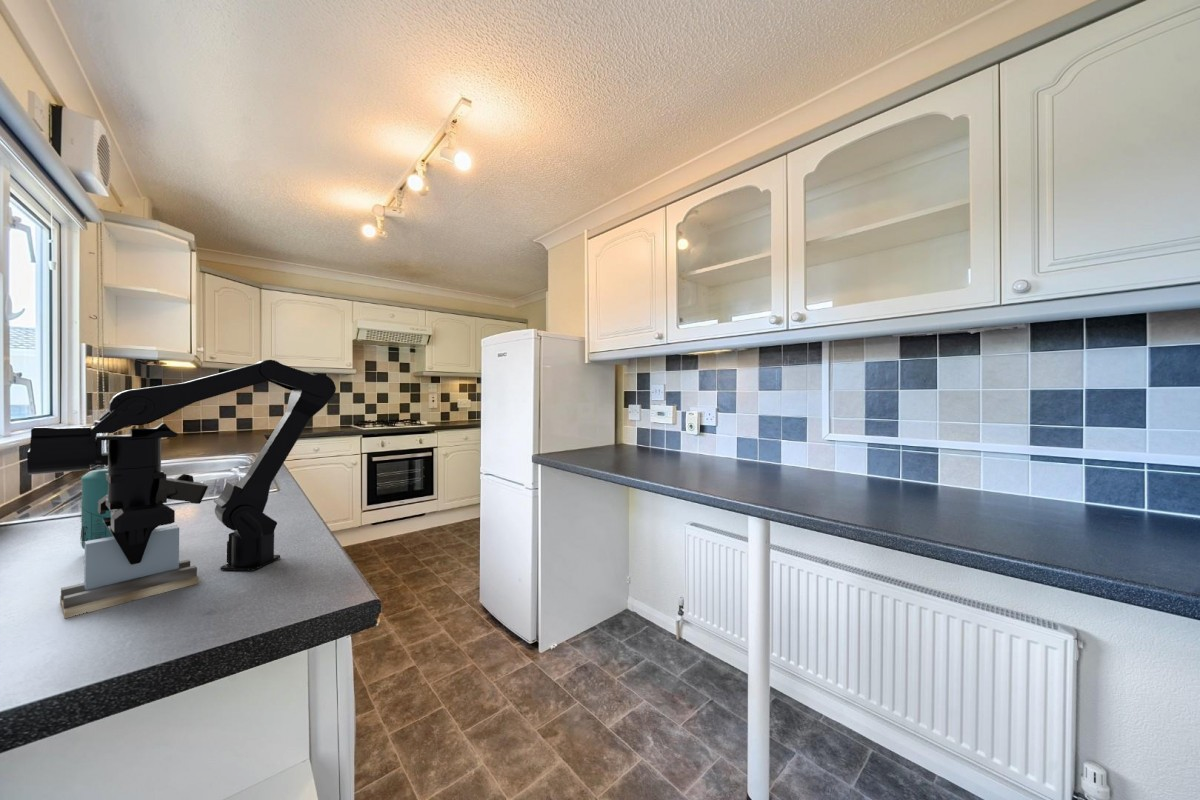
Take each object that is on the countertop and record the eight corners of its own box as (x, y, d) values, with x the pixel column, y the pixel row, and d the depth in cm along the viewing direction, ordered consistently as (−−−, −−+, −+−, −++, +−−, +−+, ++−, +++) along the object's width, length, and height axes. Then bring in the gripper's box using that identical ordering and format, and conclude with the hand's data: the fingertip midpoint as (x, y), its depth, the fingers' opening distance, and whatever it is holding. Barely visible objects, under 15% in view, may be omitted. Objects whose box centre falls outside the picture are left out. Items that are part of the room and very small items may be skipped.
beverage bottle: (139, 546, 86) (140, 451, 86) (97, 558, 80) (99, 455, 80) (112, 544, 87) (113, 450, 87) (68, 556, 80) (70, 454, 80)
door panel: (176, 565, 72) (176, 525, 72) (178, 568, 70) (179, 527, 70) (84, 586, 63) (84, 541, 63) (85, 590, 62) (86, 544, 62)
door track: (186, 571, 75) (186, 557, 75) (198, 583, 70) (198, 568, 70) (60, 601, 63) (60, 585, 63) (64, 618, 59) (64, 601, 59)
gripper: (218, 466, 68) (217, 559, 68) (189, 455, 79) (188, 536, 79) (115, 476, 59) (114, 584, 59) (97, 462, 70) (96, 554, 70)
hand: (134, 561), depth 67 cm, fingers closed on door panel, 2 cm apart
